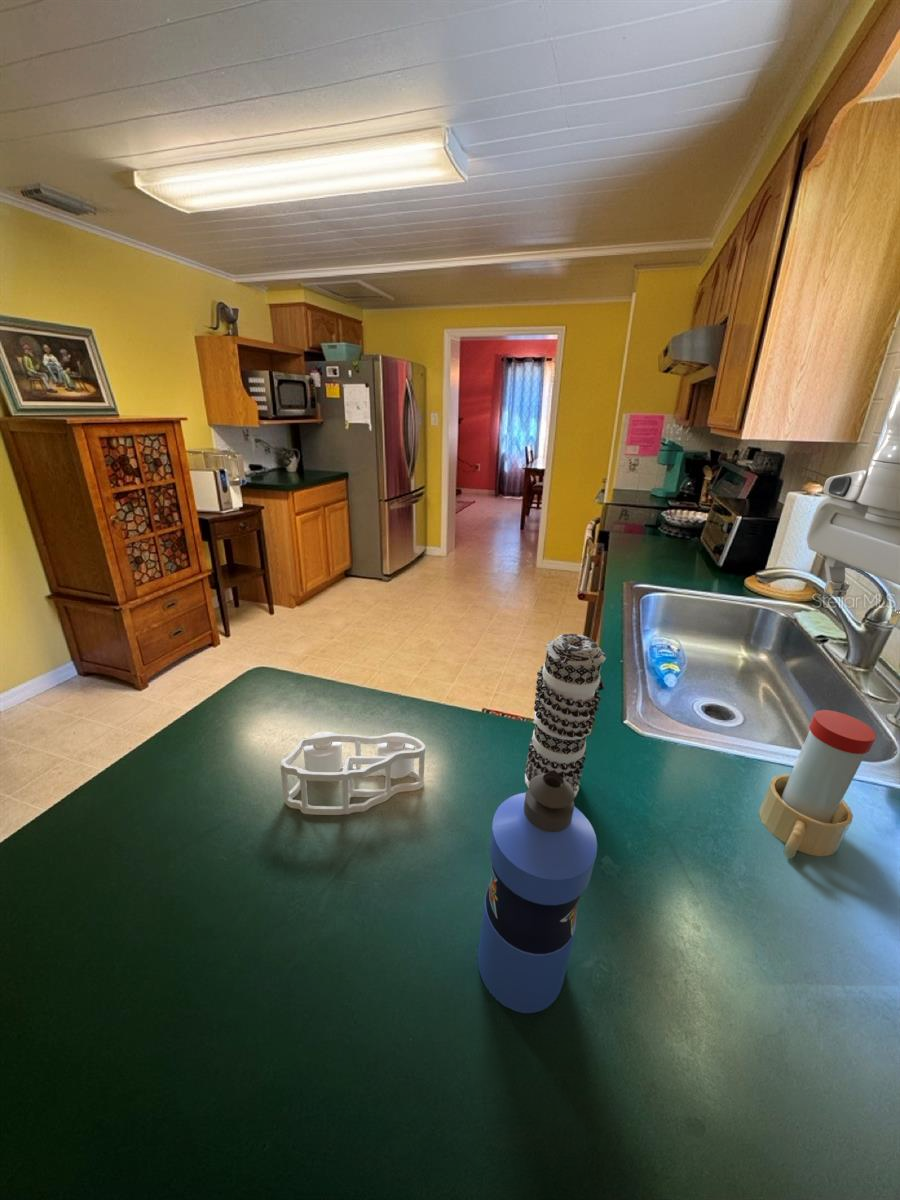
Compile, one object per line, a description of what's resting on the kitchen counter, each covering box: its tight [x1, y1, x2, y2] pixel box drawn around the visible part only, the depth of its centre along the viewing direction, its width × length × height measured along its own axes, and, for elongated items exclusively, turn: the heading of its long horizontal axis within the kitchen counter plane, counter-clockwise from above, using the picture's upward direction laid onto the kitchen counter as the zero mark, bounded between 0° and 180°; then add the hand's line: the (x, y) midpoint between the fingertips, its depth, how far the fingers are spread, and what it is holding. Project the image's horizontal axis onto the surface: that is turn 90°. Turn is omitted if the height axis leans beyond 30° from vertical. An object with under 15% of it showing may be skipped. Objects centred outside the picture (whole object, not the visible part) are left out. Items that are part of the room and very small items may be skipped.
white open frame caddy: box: [280, 731, 426, 816], centre depth 70 cm, size 20×11×7 cm, turn 93°
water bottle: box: [477, 772, 598, 1014], centre depth 45 cm, size 9×9×25 cm
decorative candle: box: [524, 633, 607, 799], centre depth 69 cm, size 9×9×25 cm
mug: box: [758, 773, 854, 859], centre depth 66 cm, size 12×9×6 cm
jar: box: [781, 709, 877, 824], centre depth 64 cm, size 6×6×18 cm
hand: (864, 610), depth 56 cm, fingers open, 8 cm apart
